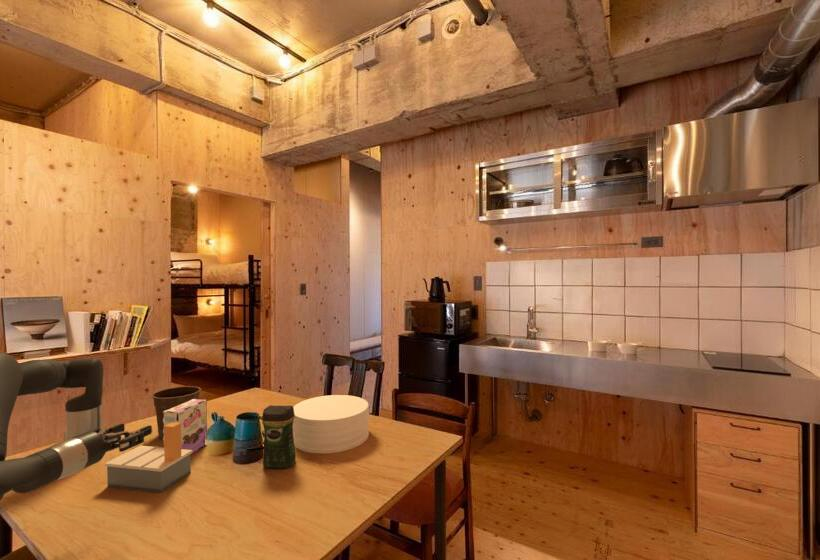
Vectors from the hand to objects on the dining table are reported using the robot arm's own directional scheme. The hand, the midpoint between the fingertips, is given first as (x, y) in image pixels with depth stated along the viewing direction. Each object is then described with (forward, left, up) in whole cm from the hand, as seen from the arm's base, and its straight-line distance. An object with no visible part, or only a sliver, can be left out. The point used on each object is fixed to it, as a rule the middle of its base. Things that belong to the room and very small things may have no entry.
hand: (136, 428), depth 102 cm
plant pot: (-27, +43, -21) cm, 55 cm away
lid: (-8, +12, -14) cm, 20 cm away
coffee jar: (+25, +27, -21) cm, 42 cm away
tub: (-8, +12, -20) cm, 25 cm away
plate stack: (+33, +50, -21) cm, 64 cm away
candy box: (-11, +29, -21) cm, 37 cm away
